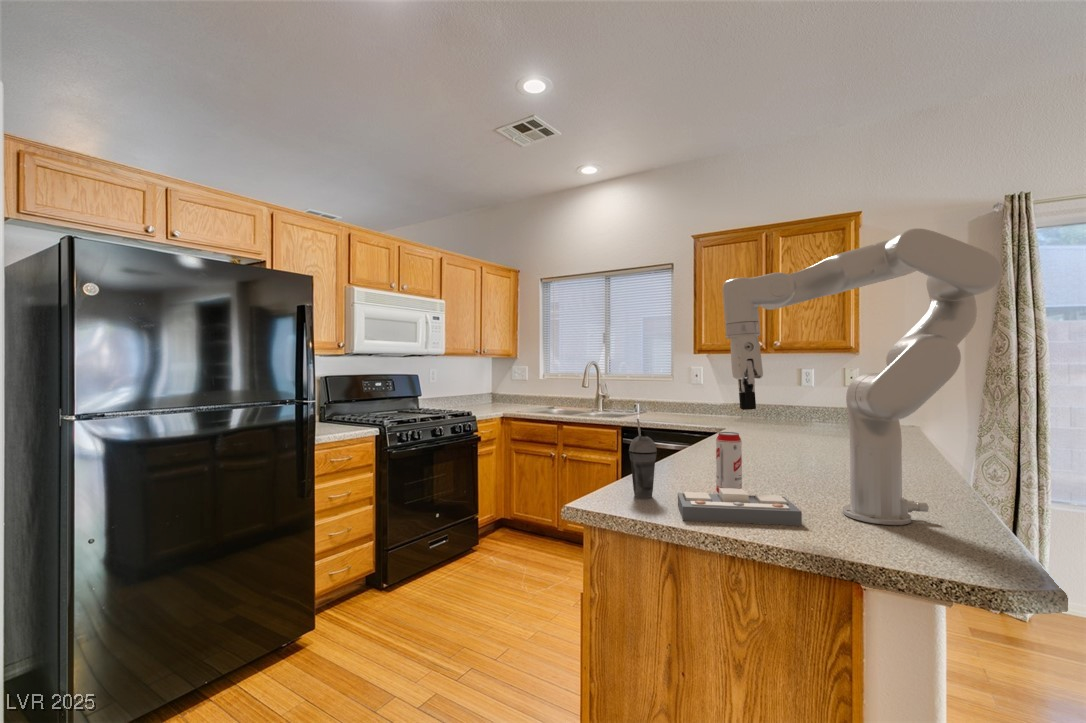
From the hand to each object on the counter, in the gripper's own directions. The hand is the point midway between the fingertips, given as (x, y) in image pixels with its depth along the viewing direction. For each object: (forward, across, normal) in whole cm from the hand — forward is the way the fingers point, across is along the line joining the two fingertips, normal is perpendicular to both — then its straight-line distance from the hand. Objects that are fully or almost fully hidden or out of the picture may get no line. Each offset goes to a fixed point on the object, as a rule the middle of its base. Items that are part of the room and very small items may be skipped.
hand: (748, 409), depth 117 cm
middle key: (+21, -3, +5) cm, 22 cm away
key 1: (+22, -3, +13) cm, 26 cm away
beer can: (+23, +13, +3) cm, 27 cm away
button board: (+23, -5, +6) cm, 24 cm away
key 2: (+23, -3, -3) cm, 23 cm away
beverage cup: (+22, +8, +25) cm, 35 cm away
